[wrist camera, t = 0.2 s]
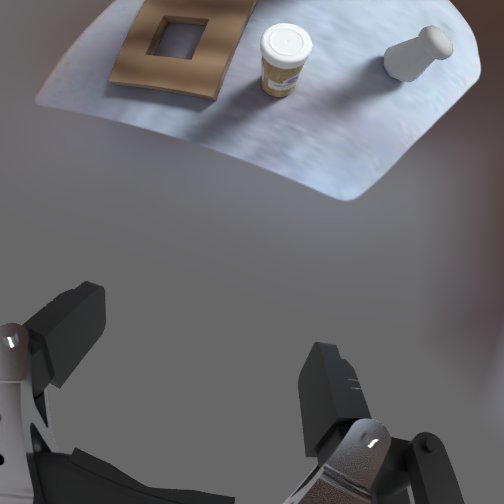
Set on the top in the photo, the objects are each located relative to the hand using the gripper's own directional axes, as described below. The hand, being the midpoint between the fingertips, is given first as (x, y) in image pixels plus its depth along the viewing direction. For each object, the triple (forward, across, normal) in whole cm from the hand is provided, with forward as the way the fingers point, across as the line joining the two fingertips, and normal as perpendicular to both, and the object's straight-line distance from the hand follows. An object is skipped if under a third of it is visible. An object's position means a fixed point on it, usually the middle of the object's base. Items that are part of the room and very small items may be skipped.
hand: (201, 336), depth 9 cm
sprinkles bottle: (+29, 0, -18) cm, 34 cm away
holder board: (+29, +15, -23) cm, 39 cm away
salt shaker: (+29, -16, -26) cm, 42 cm away
